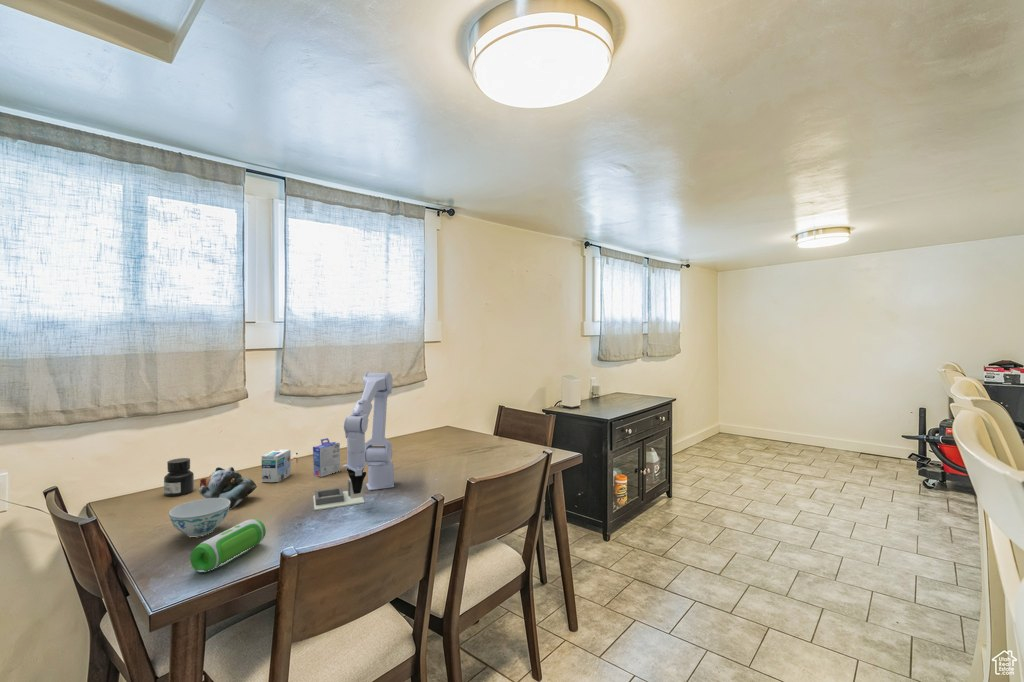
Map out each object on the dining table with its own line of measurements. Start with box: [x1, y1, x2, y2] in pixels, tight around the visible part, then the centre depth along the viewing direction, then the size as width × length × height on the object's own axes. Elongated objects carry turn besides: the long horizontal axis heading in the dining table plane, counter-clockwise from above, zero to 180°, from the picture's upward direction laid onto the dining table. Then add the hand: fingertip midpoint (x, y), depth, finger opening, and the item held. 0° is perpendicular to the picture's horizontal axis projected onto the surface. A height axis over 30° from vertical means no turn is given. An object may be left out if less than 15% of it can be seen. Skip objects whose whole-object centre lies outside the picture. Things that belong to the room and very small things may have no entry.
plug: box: [347, 476, 364, 499], centre depth 154 cm, size 5×4×6 cm
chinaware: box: [168, 498, 230, 537], centre depth 135 cm, size 15×15×8 cm
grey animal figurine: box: [198, 466, 258, 510], centre depth 158 cm, size 15×12×14 cm
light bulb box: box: [261, 448, 292, 483], centre depth 185 cm, size 11×7×11 cm, turn 179°
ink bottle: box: [163, 457, 195, 497], centre depth 169 cm, size 10×9×12 cm
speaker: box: [189, 518, 267, 572], centre depth 120 cm, size 18×7×8 cm, turn 166°
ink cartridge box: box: [312, 437, 341, 478], centre depth 192 cm, size 10×6×14 cm, turn 148°
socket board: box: [312, 487, 365, 512], centre depth 161 cm, size 16×14×2 cm
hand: (356, 491), depth 154 cm, fingers closed on plug, 4 cm apart
